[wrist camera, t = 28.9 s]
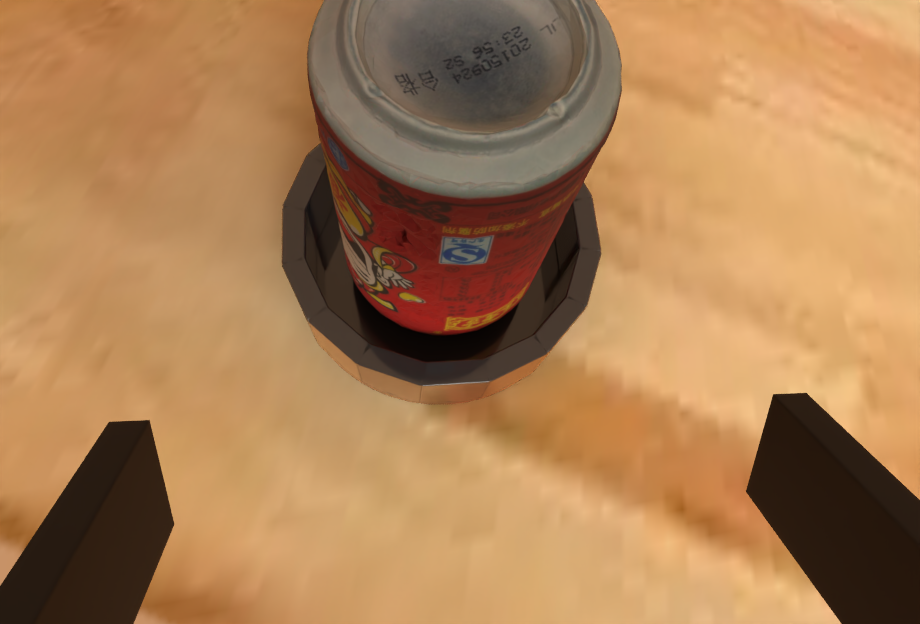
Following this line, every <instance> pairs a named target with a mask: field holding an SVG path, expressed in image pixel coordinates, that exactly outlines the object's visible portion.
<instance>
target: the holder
mask: <svg viewBox="0 0 920 624" xmlns="http://www.w3.org/2000/svg"><path fill="white" fill-rule="evenodd" d="M600 257H601V246H600V240H599V234H598V228H597V222H596V216H595V210H594V204H593V198H592V195H591V193H590V192H589V190H588V188H587V187H586V185H585V184H584V182H583V184H582V187H581V188H580V190H579V192H578V194H577V196H576V197H575V199H574V201H573V202H572V204H571V206H570V208H569V210H568V212H567V214H566V216H565V218H564V220H563V223H562V225H561V226H560V228H559V230H558V232H557V234H556V236H555V238H554V240H553V242H552V244H551V246H550V248H549V250H548V252H547V254H546V256H545V258H544V259H543V261H542V263H541V265H540V267H539V269H538V271H537V273H536V275H535V277H534V278H533V280H532V282H531V285H530V287H529V289H528V290H527V292H526V293H525V295H524V296H523V298H522V299H521V300H520V302H519V303H518V304H517V305H516V306H515V307H514V308H513V309H512V310H511V311H510V312H508V313H507V314H506V315H504V316H503V317H502V318H500V319H499V320H498V321H496V322H494V323H492V324H490V325H488V326H486V327H484V328H481V329H479V330H477V331H473V332H467V333H462V334H457V335H447V336H442V335H429V334H425V333H420V332H415V331H412V330H410V329H407V328H404V327H401V326H400V325H398V324H396V323H395V322H393V321H391V320H390V319H388V318H386V317H385V316H383V315H382V314H380V313H379V312H378V311H377V310H376V309H375V308H374V307H373V306H372V305H371V304H370V303H369V302H368V301H367V300H366V298H365V297H364V296H363V294H362V293H361V292H360V290H359V289H358V288H357V286H356V284H355V282H354V280H353V278H352V275H351V273H350V270H349V268H348V266H347V261H346V256H345V250H344V246H343V241H342V236H341V232H340V227H339V222H338V218H337V214H336V210H335V205H334V200H333V195H332V190H331V186H330V181H329V177H328V173H327V166H326V162H325V158H324V154H323V150H322V146H321V143H320V144H319V145H318V146H316V147H315V148H314V149H313V150H312V151H311V152H310V153H308V155H307V156H306V158H305V160H304V162H303V164H302V166H301V168H300V170H299V172H298V174H297V176H296V179H295V181H294V183H293V185H292V187H291V189H290V191H289V193H288V195H287V197H286V199H285V202H284V204H283V209H282V264H283V265H282V267H283V269H284V271H285V274H286V276H287V278H288V280H289V282H290V284H291V287H292V289H293V291H294V293H295V295H296V298H297V300H298V302H299V304H300V306H301V308H302V311H303V313H304V315H305V317H306V319H307V322H308V324H309V326H310V328H311V330H312V332H313V335H314V337H315V339H316V341H317V343H318V344H319V346H320V347H321V348H322V349H323V350H325V351H326V352H327V353H328V355H329V356H330V357H331V358H332V359H333V360H334V361H335V362H336V363H337V364H338V365H339V366H340V367H341V368H342V369H343V370H345V371H346V372H347V373H349V374H350V375H351V376H352V377H354V378H355V379H356V380H358V381H360V382H361V383H363V384H364V385H367V386H368V387H370V388H372V389H374V390H376V391H378V392H381V393H383V394H386V395H388V396H391V397H394V398H398V399H401V400H405V401H409V402H415V403H423V404H456V403H464V402H470V401H473V400H479V399H482V398H485V397H488V396H490V395H492V394H495V393H497V392H500V391H502V390H504V389H506V388H508V387H509V386H511V385H513V384H515V383H516V382H518V381H520V380H521V379H522V378H524V377H526V376H528V375H530V374H531V373H532V372H534V371H535V369H536V368H537V367H538V366H539V365H540V363H541V362H542V361H543V360H544V359H545V357H546V356H547V355H548V354H549V353H550V351H551V350H552V349H553V348H554V347H555V345H556V344H557V343H558V342H559V341H560V339H561V338H562V337H563V336H564V335H565V334H566V332H567V331H568V330H569V329H570V327H571V326H572V325H573V324H574V323H575V321H576V320H577V319H578V318H579V316H580V315H581V314H582V313H583V312H584V310H585V308H586V307H587V305H588V301H589V297H590V294H591V290H592V286H593V283H594V279H595V275H596V272H597V268H598V264H599V260H600Z"/></svg>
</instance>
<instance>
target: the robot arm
mask: <svg viewBox="0 0 920 624" xmlns="http://www.w3.org/2000/svg"><path fill="white" fill-rule="evenodd" d="M746 492H747V494H748V495H749V496H750V498H751V499H752V501H753V502H754V503H755V505H756V506H757V507H758V509H759V510H760V512H761V513H762V514H763V516H764V517H765V519H766V520H767V521H768V523H769V524H770V525H771V527H772V528H773V530H774V531H775V532H776V534H777V535H778V536H779V538H780V539H781V541H782V542H783V543H784V545H785V546H786V548H787V549H788V550H789V552H790V553H791V554H792V556H793V557H794V559H795V560H796V561H797V563H798V564H799V565H800V567H801V568H802V570H803V571H804V572H805V574H806V575H807V577H808V578H809V579H810V581H811V582H812V583H813V585H814V586H815V588H816V589H817V590H818V592H819V593H820V594H821V596H822V597H823V599H824V600H825V601H826V603H827V604H828V606H829V607H830V608H831V610H832V611H833V612H834V614H835V615H836V617H837V618H838V619H839V621H840V622H841V623H842V624H920V500H919V499H918V498H917V497H916V496H915V495H914V494H913V493H911V492H910V491H909V490H908V489H907V488H906V487H905V486H904V485H903V484H902V483H901V482H900V481H899V480H898V479H897V478H896V477H895V476H893V475H892V474H891V473H890V472H889V471H888V470H887V469H886V468H885V467H884V466H883V465H882V464H881V463H880V462H879V461H878V460H877V459H875V458H874V457H873V456H872V455H871V454H870V453H869V452H868V451H867V450H866V449H865V448H864V447H863V446H862V445H861V444H860V443H859V442H857V441H856V440H855V439H854V438H853V437H852V436H851V435H850V434H849V433H848V432H847V431H846V430H845V429H844V428H843V427H842V426H841V425H840V424H838V423H837V422H836V421H835V420H834V419H833V418H832V417H831V416H830V415H829V414H828V413H827V412H826V411H825V410H824V409H823V408H822V407H820V406H819V405H818V404H817V403H816V402H815V401H814V400H813V399H812V398H811V397H810V396H809V395H808V394H807V393H795V394H773V397H772V401H771V405H770V408H769V412H768V415H767V419H766V422H765V426H764V429H763V433H762V436H761V440H760V444H759V447H758V451H757V454H756V458H755V461H754V465H753V468H752V472H751V476H750V479H749V483H748V486H747V490H746ZM173 526H174V521H173V517H172V513H171V508H170V504H169V500H168V496H167V492H166V488H165V483H164V479H163V475H162V471H161V467H160V462H159V458H158V454H157V450H156V446H155V441H154V437H153V433H152V429H151V425H150V421H149V420H144V421H120V422H109V423H108V424H107V426H106V427H105V429H104V430H103V432H102V433H101V435H100V436H99V438H98V439H97V441H96V442H95V444H94V446H93V447H92V449H91V450H90V452H89V453H88V455H87V456H86V458H85V459H84V461H83V462H82V464H81V465H80V467H79V468H78V470H77V471H76V473H75V474H74V476H73V477H72V479H71V480H70V482H69V483H68V485H67V486H66V488H65V489H64V491H63V492H62V494H61V495H60V497H59V498H58V500H57V501H56V503H55V504H54V506H53V507H52V509H51V510H50V512H49V513H48V515H47V516H46V518H45V519H44V521H43V522H42V524H41V525H40V527H39V528H38V530H37V531H36V533H35V534H34V536H33V537H32V539H31V540H30V542H29V543H28V545H27V546H26V548H25V550H24V551H23V553H22V554H21V556H20V557H19V559H18V560H17V562H16V563H15V565H14V566H13V568H12V569H11V571H10V572H9V574H8V575H7V577H6V578H5V580H4V581H3V583H2V584H1V586H0V624H133V623H134V621H135V619H136V616H137V614H138V611H139V609H140V606H141V604H142V602H143V599H144V597H145V594H146V592H147V589H148V587H149V585H150V582H151V580H152V577H153V575H154V572H155V570H156V567H157V565H158V563H159V560H160V558H161V555H162V553H163V550H164V548H165V546H166V543H167V541H168V538H169V536H170V533H171V531H172V528H173Z"/></svg>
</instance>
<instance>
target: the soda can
mask: <svg viewBox="0 0 920 624" xmlns="http://www.w3.org/2000/svg"><path fill="white" fill-rule="evenodd" d="M307 59H308V81H309V88H310V95H311V99H312V103H313V107H314V112H315V117H316V122H317V125H318V131H319V137H320V142H321V146H322V150H323V154H324V158H325V162H326V166H327V173H328V177H329V181H330V186H331V190H332V195H333V200H334V205H335V210H336V214H337V218H338V222H339V227H340V232H341V236H342V241H343V246H344V250H345V256H346V261H347V266H348V268H349V270H350V273H351V275H352V278H353V280H354V282H355V284H356V286H357V288H358V289H359V290H360V292H361V293H362V294H363V296H364V297H365V298H366V300H367V301H368V302H369V303H370V304H371V305H372V306H373V307H374V308H375V309H376V310H377V311H378V312H379V313H380V314H382V315H383V316H385V317H386V318H388V319H390V320H391V321H393V322H395V323H396V324H398V325H400V326H401V327H404V328H407V329H410V330H412V331H415V332H420V333H425V334H429V335H442V336H447V335H457V334H462V333H467V332H473V331H477V330H479V329H481V328H484V327H486V326H488V325H490V324H492V323H494V322H496V321H498V320H499V319H500V318H502V317H503V316H504V315H506V314H507V313H508V312H510V311H511V310H512V309H513V308H514V307H515V306H516V305H517V304H518V303H519V302H520V300H521V299H522V298H523V296H524V295H525V293H526V292H527V290H528V289H529V287H530V285H531V282H532V280H533V278H534V277H535V275H536V273H537V271H538V269H539V267H540V265H541V263H542V261H543V259H544V258H545V256H546V254H547V252H548V250H549V248H550V246H551V244H552V242H553V240H554V238H555V236H556V234H557V232H558V230H559V228H560V226H561V225H562V223H563V220H564V218H565V216H566V214H567V212H568V210H569V208H570V206H571V204H572V202H573V201H574V199H575V197H576V196H577V194H578V192H579V190H580V188H581V187H582V184H583V182H584V180H585V178H586V176H587V174H588V172H589V170H590V168H591V167H592V165H593V163H594V161H595V159H596V157H597V155H598V153H599V152H600V150H601V148H602V147H603V145H604V144H605V142H606V140H607V138H608V136H609V134H610V131H611V129H612V127H613V124H614V121H615V119H616V115H617V110H618V106H619V101H620V96H621V91H622V86H621V67H622V65H621V59H620V52H619V48H618V45H617V42H616V39H615V36H614V33H613V31H612V28H611V26H610V23H609V21H608V20H607V18H606V17H605V15H604V14H603V12H602V11H601V9H600V8H599V6H598V5H597V3H596V1H595V0H324V2H323V4H322V6H321V8H320V10H319V12H318V14H317V17H316V20H315V22H314V25H313V28H312V32H311V35H310V39H309V45H308V53H307Z"/></svg>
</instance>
